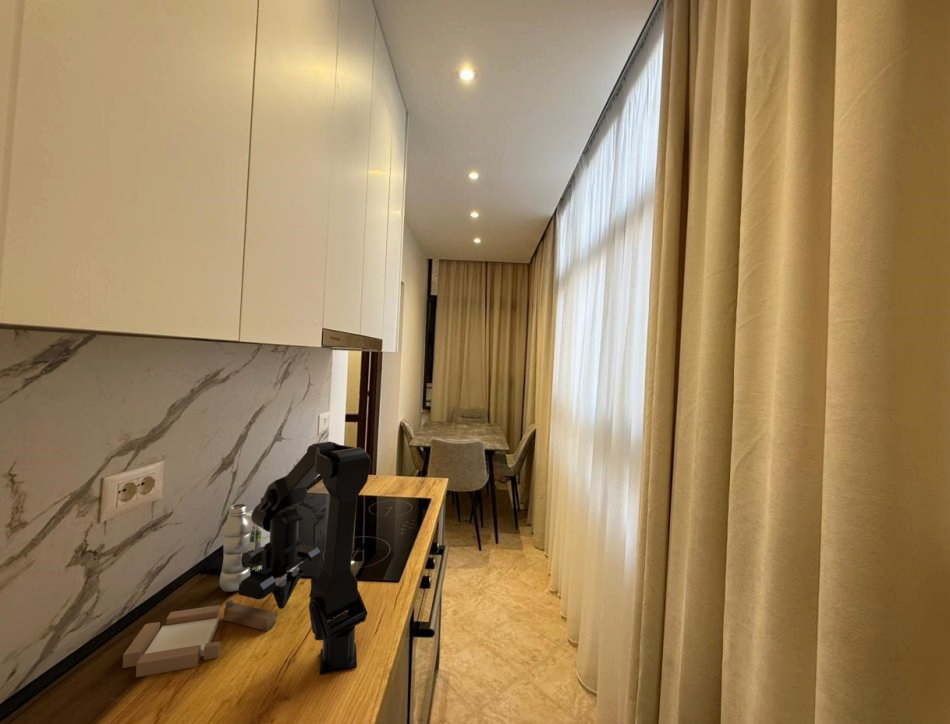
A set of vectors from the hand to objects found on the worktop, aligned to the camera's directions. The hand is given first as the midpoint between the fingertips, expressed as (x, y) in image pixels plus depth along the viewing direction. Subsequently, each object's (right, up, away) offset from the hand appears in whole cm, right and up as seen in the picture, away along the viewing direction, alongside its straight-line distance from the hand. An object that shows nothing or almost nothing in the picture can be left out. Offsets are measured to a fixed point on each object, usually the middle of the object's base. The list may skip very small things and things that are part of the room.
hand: (281, 607), depth 90 cm
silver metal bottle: (-16, -1, +9) cm, 18 cm away
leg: (-5, -1, -4) cm, 7 cm away
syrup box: (-16, -1, +20) cm, 26 cm away
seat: (-14, 0, -11) cm, 18 cm away
